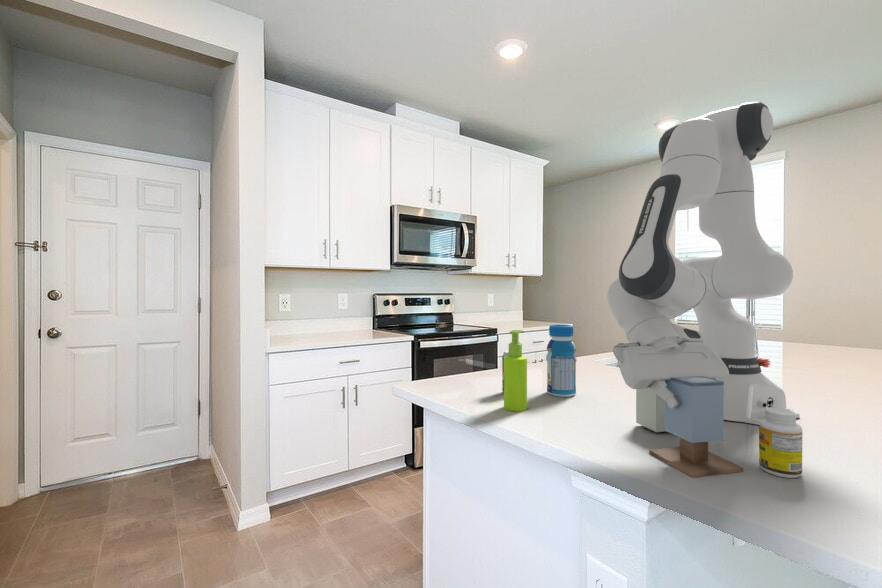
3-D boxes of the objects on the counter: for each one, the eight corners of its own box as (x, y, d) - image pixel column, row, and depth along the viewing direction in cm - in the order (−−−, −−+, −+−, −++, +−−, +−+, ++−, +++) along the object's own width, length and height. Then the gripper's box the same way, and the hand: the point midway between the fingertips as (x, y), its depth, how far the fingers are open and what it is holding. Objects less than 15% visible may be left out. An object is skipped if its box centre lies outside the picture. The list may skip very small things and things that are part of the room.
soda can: (519, 395, 118) (519, 354, 117) (501, 395, 119) (501, 353, 118) (519, 391, 122) (519, 351, 122) (502, 390, 123) (502, 351, 123)
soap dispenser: (531, 405, 107) (531, 329, 107) (522, 412, 101) (521, 332, 101) (510, 402, 110) (510, 328, 110) (500, 409, 105) (499, 331, 104)
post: (695, 448, 78) (695, 403, 78) (743, 471, 68) (743, 420, 68) (649, 453, 76) (649, 407, 76) (692, 477, 66) (692, 424, 66)
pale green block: (660, 423, 93) (660, 379, 93) (681, 432, 87) (681, 385, 87) (636, 425, 92) (636, 380, 92) (656, 435, 86) (655, 387, 85)
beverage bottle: (561, 399, 114) (561, 327, 113) (540, 392, 121) (540, 325, 121) (582, 395, 118) (582, 325, 118) (560, 388, 125) (560, 323, 125)
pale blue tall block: (693, 428, 76) (694, 374, 76) (723, 440, 70) (723, 381, 70) (664, 430, 74) (665, 375, 74) (691, 442, 68) (692, 383, 68)
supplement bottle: (759, 461, 72) (759, 404, 72) (801, 470, 69) (801, 410, 68) (757, 473, 68) (758, 411, 68) (802, 483, 64) (803, 418, 64)
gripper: (616, 333, 77) (653, 399, 67) (708, 332, 81) (755, 393, 71) (602, 353, 81) (634, 417, 72) (690, 351, 85) (732, 411, 76)
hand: (695, 405), depth 71 cm, fingers closed on pale blue tall block, 6 cm apart
